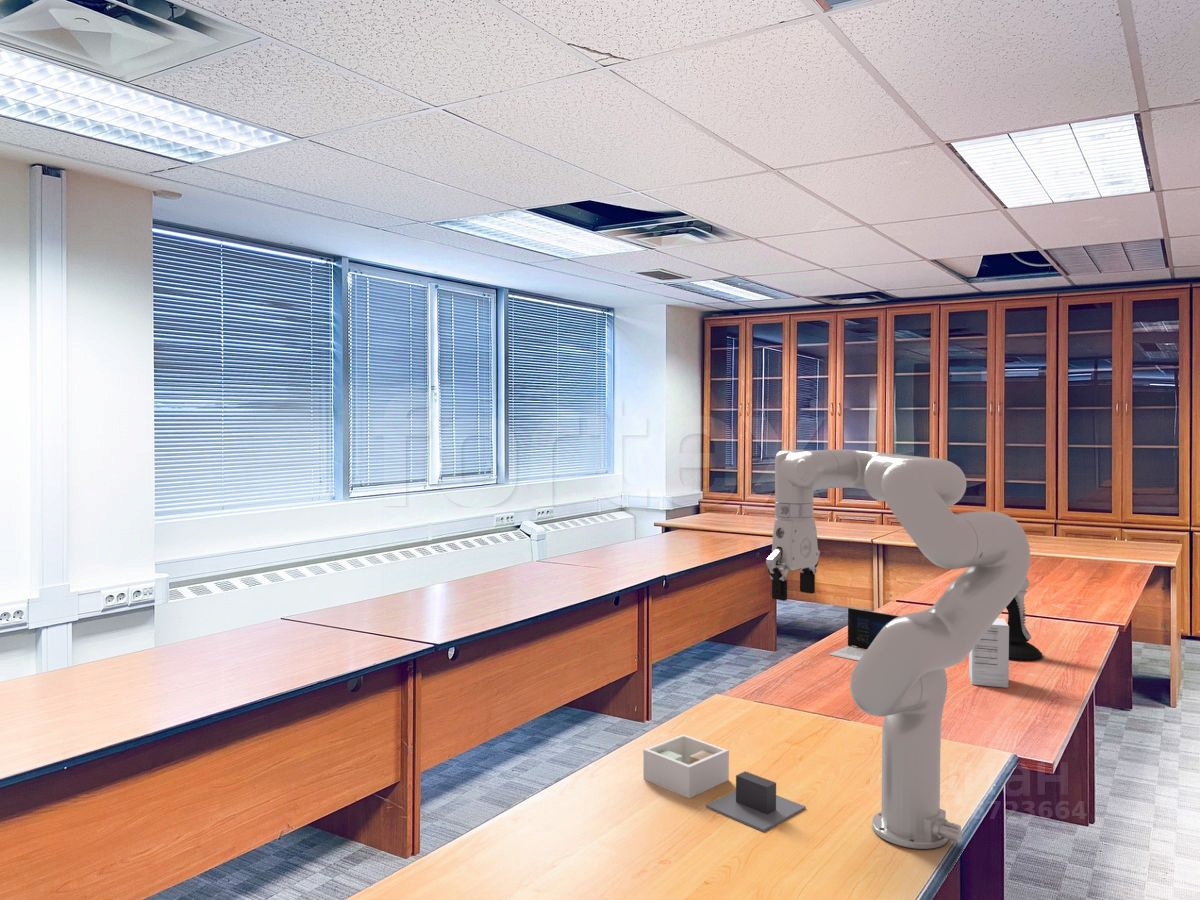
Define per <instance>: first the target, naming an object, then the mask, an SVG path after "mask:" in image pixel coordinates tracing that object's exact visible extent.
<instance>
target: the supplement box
mask: <svg viewBox="0 0 1200 900" xmlns="http://www.w3.org/2000/svg"><path fill="white" fill-rule="evenodd" d="M968 659H969V660H968V662H969V663H968V666H969V667H968V677H969V680H970V683H971V685H973V686H985V687H997V688H1006V689H1009V677H1010V676H1009V674H1010V673H1009V662H1010V660H1009V626H1008V621H1006V619H1005V618H1000V617H997V619H996V620H995V621H994V623H993V624H992V625H991V627H990V628H989V629H988V631H987V632H986V633H985V634H984V635H983V637H982V638H981V639H980V640H979V642H978V643H977V644H976V645H975V647H974V648H973V649H972V650H971V652H970V653H969V654H968Z"/></svg>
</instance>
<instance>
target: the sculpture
mask: <svg viewBox="0 0 1200 900" xmlns="http://www.w3.org/2000/svg"><path fill="white" fill-rule="evenodd" d="M1029 587H1030V580H1029V578H1028V576H1027V577H1026V579H1025V581H1024V583H1023V585H1022V587H1021V588H1020V590H1019V592H1018V593H1017V594H1016V596H1015V597H1014V598H1013V600H1012V601H1011V602H1010V603H1009V604H1008V606H1007V607H1006V608H1005V609H1006V610H1007V615H1008V616H1007V617H1008V618H1007V619H1008V620H1007V624H1008V626H1009V661H1015V662H1036V661H1039V660H1042V659H1043V653H1042V651H1041V650H1039V648H1037V647H1036V646H1035V645H1033V644H1031V643H1030V642H1029V641H1030V640H1031V639H1032V636H1031V634H1030V633H1029V631H1028V629H1027V627H1026V622H1025V621H1026V617H1027V616H1026V615H1027V614H1026V613H1025V612H1026V607H1025V596H1026V593H1027V592H1028V591H1027V590H1028V589H1029Z"/></svg>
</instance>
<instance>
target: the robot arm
mask: <svg viewBox="0 0 1200 900" xmlns="http://www.w3.org/2000/svg"><path fill="white" fill-rule="evenodd" d="M774 468H775V469H774V475H775V476H774V523H773V524H774V525H773V531H772V541H771V542H772V544H771V546H772V547H771V553H770V555H768V557H767V558H765V559H766V560H765V564H766V566H767V572H768V574H769V578H770V579H771V599H773V600H777V601H783V602H785V601H787V600H788V580H786V578H787V576H788V574H789V571H799V570H801V572H799V591H800V593H805V594H811V595H813V594H815V593H816V592H815V591H816V588H815V587H816V573H817V567H818V564H819V558H820V554H821V551H820V550H819V548H818V533H817V524H816V520H815V517H814V490H824V489H825V490H826V489H849V488H851V489H861V490H866V492H867V493H868V495H869V496H870V497H871V498H873V499H874V500H876V501H881V502H885V503H886V504H887V506H888V508H889V509H890V511H891V513H892V514H893V515H894V516H895V518H896V519H897V521H898V522H899V524H900V525H901V527H902V528H903V529H904V531H905V532H906V533H907V534H908V535H909V537H910V538H911V540H912V541H913V543H914V544H915V545H916V547H917V548H918V550H920V552H921V554H923V556H924V557H925V558H927V560H929V561H930V562H931V563H932V564H934V565H935V566H937V567H939V568H942V569H948V570H957V569H958V570H960V569H964V568H966V569H965V570H964V571H962V573H961V574H959V575H958V576H957V577H956V578H955V579H954V580H953V581H952V582H951V583H950V584H949V585H948V586H947V588H946V589H945V590H944V592H943V594H942V595H941V596H940V597H939V598H938V599H937V601H936V602H935V603H934V604H933V605H932V606H931V607H929V608H927V609H925V610H921V611H917V612H912V613H906V614H902V615H898V616H899V617H897V618H895V619H893V620H892V621H890V622H889V623H888V624H886V625H885V626H884V627H883V628H882V630H881V631H880V632H879V634H878V635H877V636H876V638H875V639H874V640H873V642H872V643H871V645H870V646H869V647H868V649H867V650H866V649H865V650H866V651H865V653H864V654H863V656H862V657H861V658H860V660H859V661H857V663H856V665H855V666H854V668H853V670H852V672H851V676H850V681H849V682H850V684H849V685H850V686H849V687H850V689H849V690H850V693H851V697H852V700H853V702H854V703H855V705H856V706H857V707H858V708H859V709H860V710H861V711H862V712H864V713H865V714H867V715H870V716H874V717H884V719H883V722H882V732H881V734H882V737H881V811H879V812H877V813H875V814H874V815H873V817H872V819H871V828H872V829H873V832H874V833H876V835H877V836H879V837H880V838H881V839H883V840H884V841H887V842H889V843H891V844H894V845H895V846H896V845H897V846H900V847H904V848H909V849H918V850H930V849H937V848H940V847H943V846H944V845H946V844H947V843H948V842H949V840H950V841H952V842H955V843H957V844H960V843H961V841H963V831H962V826H961V825H960V824H958V823H954V822H951V821H948V819H947V818H946V810H945V809H941V807H940V805H941V803H940V802H941V747H942V746H941V744H942V743H941V742H942V739H941V738H942V723H943V722H942V720H943V714H944V708H945V702H946V699H947V694H948V676H947V671H946V670H945V669H947V668H948V669H949V668H950V667H954V666H956V665H959V664H960V663H961V662H962V663H963V661H965V659H966V658H967V657H968V656H969V653H970V652H971V650H972V649H973V648H974V647H975V645H976V644H977V643H978V642H979V640H980V639H981V638H982V637H983V635H984V634H985V633H986V632H987V631H988V629H989V628H990V627H991V625H992V624H993V623H994V621H995V620H996V619H997V618H999V616H1000V615H1001V614H1002V613H1003V611H1005V609H1006V607H1007V606H1008V604H1009V603H1010V602H1011V601H1012V600H1013V598H1014V597H1015V596H1016V594H1017V593H1018V592H1019V590H1020V588H1021V587H1022V585H1023V583H1024V581H1025V579H1026V577H1027V578H1028V574H1029V570H1030V566H1031V565H1030V564H1031V549H1030V542H1029V539H1028V537H1027V534H1026V532H1025V530H1024V528H1023V527H1022V525H1020V523H1019V522H1018V521H1017V520H1016V519H1015V518H1013V517H1011V516H1010V515H1008V514H1005V513H1002V512H999V511H993V510H992V511H991V510H981V511H980V510H979V511H968V512H957V513H954V512H953V511H952V510H951V509H950V508H949V507H952V506H954V505H955V504H956V503H959V501H960V500H962V498H963V496H964V495H965V493H966V490H967V479H966V478H967V477H966V476H965V473H964V472H963V470H962V469H961V468H960V466H958V465H957V464H955V463H954V462H952V461H949V460H948V459H947V460H946V459H943V458H937V457H936V458H935V457H926V456H918V455H917V456H915V455H906V454H905V455H904V454H897V453H896V454H895V453H894V454H893V453H887V452H876V451H865V450H857V449H815V450H814V449H813V450H811V449H810V450H803V449H783V450H780V451H778V452H777V453H776V455H775V458H774ZM780 570H781V571H780Z"/></svg>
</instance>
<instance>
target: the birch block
mask: <svg viewBox="0 0 1200 900" xmlns="http://www.w3.org/2000/svg"><path fill="white" fill-rule="evenodd" d="M711 755H713V754H711V753H708V752H705V751H700V752H698V753H695V754H693V755H691V756H690V764H692V763H694V762H697V761H699V760H701V759H704V758H706V757H709V756H711Z"/></svg>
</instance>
